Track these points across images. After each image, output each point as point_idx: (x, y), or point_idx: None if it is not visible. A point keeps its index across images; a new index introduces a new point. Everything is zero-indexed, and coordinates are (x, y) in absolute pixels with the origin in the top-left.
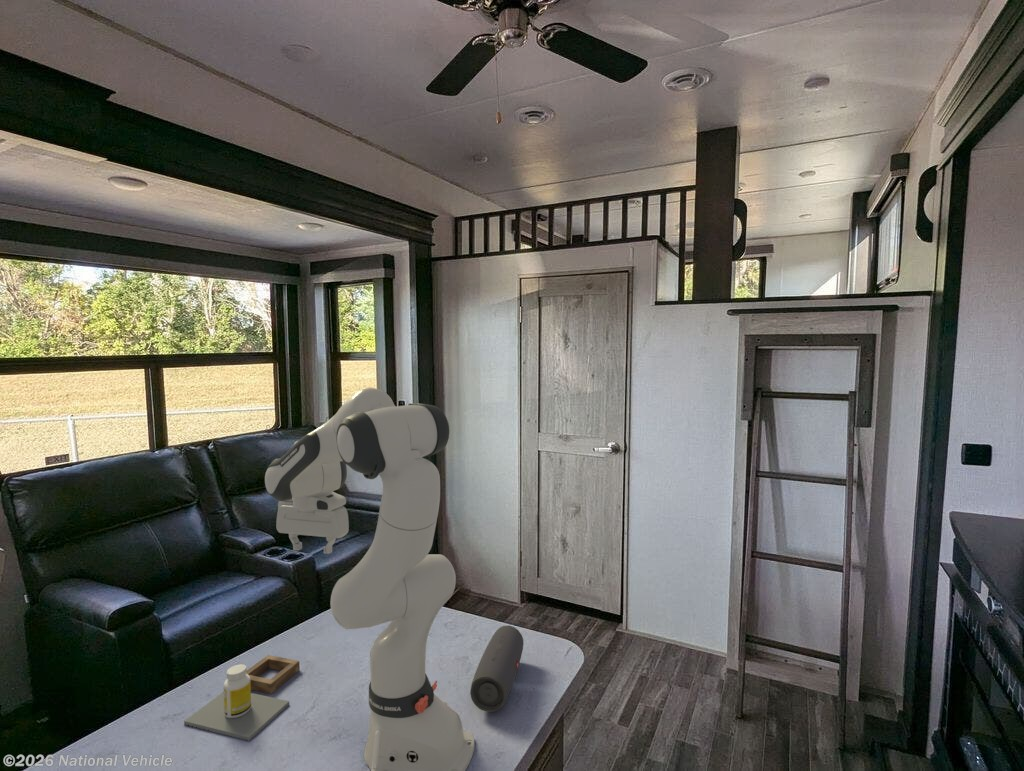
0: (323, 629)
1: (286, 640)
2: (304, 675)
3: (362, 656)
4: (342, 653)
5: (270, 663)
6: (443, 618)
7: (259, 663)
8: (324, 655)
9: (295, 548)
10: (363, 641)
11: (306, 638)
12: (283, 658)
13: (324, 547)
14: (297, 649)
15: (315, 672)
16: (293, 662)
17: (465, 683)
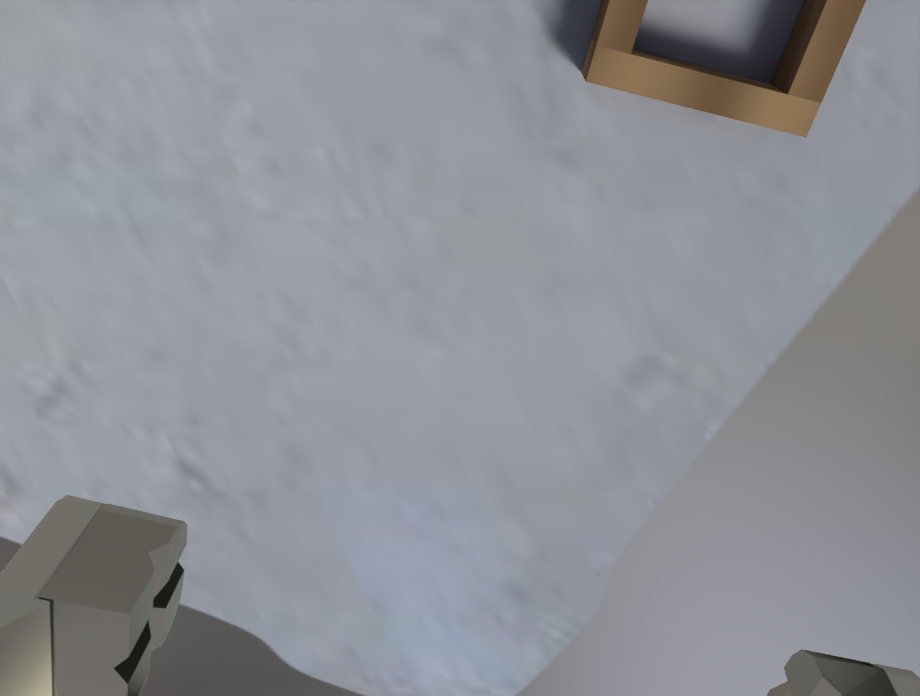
0: (603, 442)
1: (767, 346)
2: (531, 22)
3: (288, 212)
4: (408, 236)
5: (767, 87)
6: None
7: (827, 43)
8: (499, 216)
9: (873, 685)
10: (346, 343)
11: (663, 365)
12: (694, 102)
13: (95, 601)
14: (673, 267)
15: (480, 54)
16: (614, 61)
17: None
